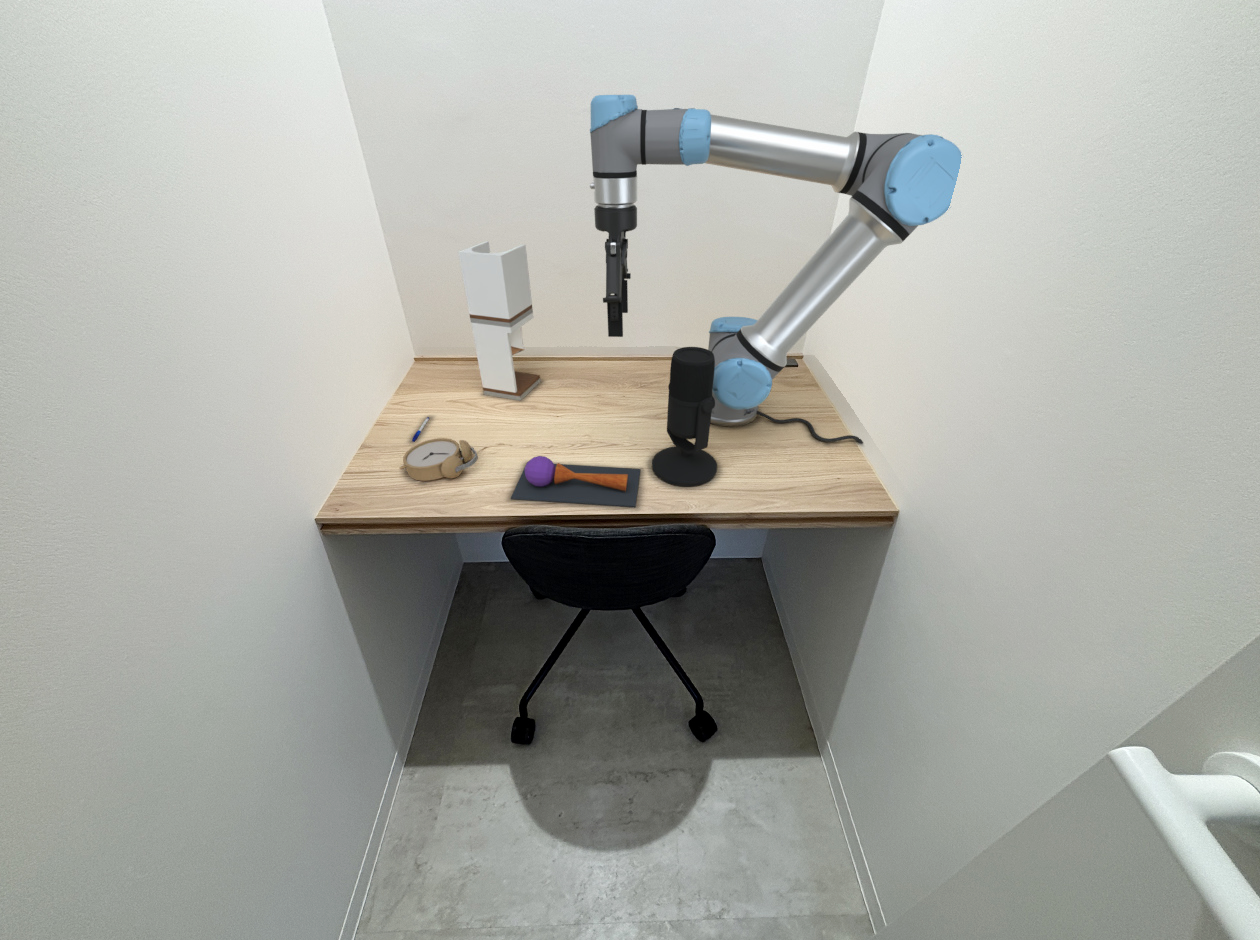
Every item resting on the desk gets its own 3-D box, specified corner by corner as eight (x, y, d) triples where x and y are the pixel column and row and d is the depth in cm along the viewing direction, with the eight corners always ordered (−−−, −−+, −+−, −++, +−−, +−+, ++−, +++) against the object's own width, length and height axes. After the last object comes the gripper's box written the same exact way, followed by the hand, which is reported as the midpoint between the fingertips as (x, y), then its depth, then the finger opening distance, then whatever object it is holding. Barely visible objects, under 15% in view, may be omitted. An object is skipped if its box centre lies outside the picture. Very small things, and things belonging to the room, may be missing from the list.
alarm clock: (417, 438, 108) (481, 432, 105) (426, 456, 111) (488, 451, 108) (390, 468, 99) (459, 462, 96) (401, 487, 102) (468, 483, 99)
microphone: (730, 473, 103) (747, 359, 89) (678, 495, 97) (687, 376, 83) (689, 443, 113) (699, 335, 98) (639, 461, 107) (641, 349, 92)
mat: (640, 470, 104) (640, 468, 104) (635, 507, 94) (635, 506, 94) (527, 463, 106) (527, 462, 106) (510, 499, 96) (510, 497, 96)
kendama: (625, 484, 93) (519, 469, 94) (623, 504, 97) (522, 490, 98) (629, 461, 97) (528, 447, 98) (627, 481, 102) (530, 468, 102)
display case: (520, 400, 129) (500, 255, 108) (484, 394, 131) (457, 251, 111) (540, 381, 137) (525, 244, 117) (505, 376, 140) (485, 241, 120)
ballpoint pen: (416, 442, 113) (414, 438, 112) (412, 442, 113) (410, 438, 112) (430, 419, 121) (429, 415, 121) (426, 419, 121) (425, 415, 121)
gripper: (602, 194, 98) (606, 303, 111) (584, 217, 78) (592, 347, 90) (640, 194, 98) (640, 303, 110) (632, 217, 78) (633, 347, 90)
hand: (618, 323), depth 100 cm, fingers open, 13 cm apart
